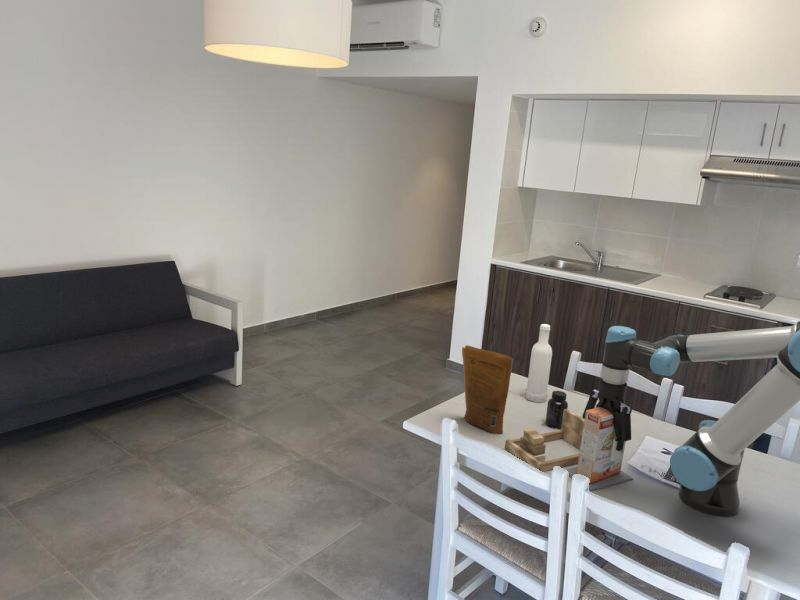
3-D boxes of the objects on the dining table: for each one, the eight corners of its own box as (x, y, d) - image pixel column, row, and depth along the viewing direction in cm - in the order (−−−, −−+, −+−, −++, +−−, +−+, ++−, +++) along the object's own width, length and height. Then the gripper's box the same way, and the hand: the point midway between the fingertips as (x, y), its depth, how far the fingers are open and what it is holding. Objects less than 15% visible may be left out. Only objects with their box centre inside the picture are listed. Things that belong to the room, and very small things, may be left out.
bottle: (547, 397, 234) (558, 324, 227) (544, 404, 227) (554, 329, 220) (527, 393, 237) (537, 320, 230) (523, 399, 230) (532, 325, 223)
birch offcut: (544, 464, 182) (545, 455, 182) (533, 466, 181) (534, 457, 180) (528, 451, 189) (529, 443, 189) (518, 453, 188) (519, 445, 187)
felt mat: (632, 479, 176) (632, 478, 176) (590, 491, 168) (590, 489, 168) (604, 462, 185) (604, 460, 185) (563, 472, 178) (563, 470, 177)
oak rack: (597, 458, 187) (602, 429, 185) (537, 472, 176) (542, 442, 174) (562, 436, 201) (566, 409, 199) (504, 448, 190) (508, 419, 187)
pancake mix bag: (498, 439, 196) (507, 359, 189) (453, 419, 208) (461, 343, 202) (510, 433, 200) (519, 355, 194) (465, 414, 213) (473, 339, 207)
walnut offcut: (544, 453, 182) (545, 444, 182) (534, 456, 180) (535, 447, 180) (529, 443, 188) (530, 435, 188) (519, 445, 186) (520, 437, 186)
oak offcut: (543, 445, 181) (544, 437, 181) (533, 446, 180) (534, 438, 180) (532, 436, 187) (533, 429, 186) (523, 437, 186) (524, 430, 185)
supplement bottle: (554, 419, 214) (558, 388, 211) (569, 427, 209) (573, 395, 206) (540, 422, 211) (545, 391, 208) (555, 430, 205) (560, 398, 202)
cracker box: (591, 485, 170) (601, 417, 165) (575, 475, 175) (584, 409, 170) (622, 473, 178) (632, 408, 173) (605, 464, 183) (615, 401, 178)
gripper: (654, 392, 162) (640, 467, 167) (594, 365, 181) (584, 433, 186) (635, 396, 159) (621, 472, 164) (576, 368, 177) (566, 437, 183)
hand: (601, 451), depth 175 cm, fingers open, 9 cm apart
